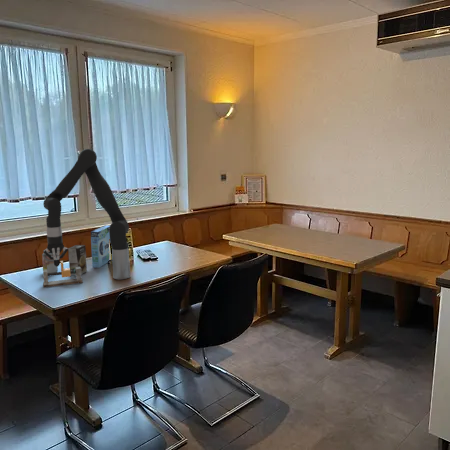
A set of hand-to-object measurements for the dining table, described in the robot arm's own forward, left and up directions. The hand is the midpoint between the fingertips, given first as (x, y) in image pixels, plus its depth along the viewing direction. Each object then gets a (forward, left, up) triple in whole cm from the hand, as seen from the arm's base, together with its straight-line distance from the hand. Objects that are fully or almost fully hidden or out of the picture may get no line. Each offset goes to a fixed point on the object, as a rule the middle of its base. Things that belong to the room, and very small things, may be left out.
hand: (57, 266), depth 236 cm
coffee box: (-12, -17, -11) cm, 23 cm away
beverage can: (+3, -24, -11) cm, 27 cm away
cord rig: (-2, 0, -10) cm, 11 cm away
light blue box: (-28, -32, -11) cm, 44 cm away
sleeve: (-4, 0, -6) cm, 8 cm away
